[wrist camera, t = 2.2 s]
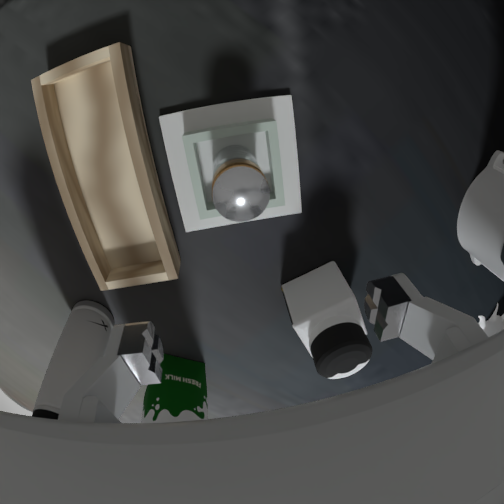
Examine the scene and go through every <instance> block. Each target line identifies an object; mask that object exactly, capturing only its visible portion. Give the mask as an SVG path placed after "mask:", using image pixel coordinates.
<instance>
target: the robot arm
mask: <svg viewBox="0 0 504 504" xmlns="http://www.w3.org/2000/svg"><path fill="white" fill-rule="evenodd" d="M457 234H458V239H459V242H460V244H461V245H462V247H463V248H464V249H465V250H467V251H468V252H469V253H470V256H471V260H472V262H473V263H474V264H476V265H480V264H483V265H484V266H485V267H486V268H488V269H489V270H490V271H491V272H493V273H494V274H495V275H496V276H498V277H499V278H500V279H501V280H502V281H504V152H502V151H499V150H497V151H495V153H494V154H493V155H492V157H491V159H490V161H489V163H488V165H487V167H486V168H485V169H484V170H483V171H482V172H481V173H480V174H479V175H478V176H477V177H476V178H475V179H474V181H473V182H472V184H471V185H470V187H469V188H468V190H467V192H466V194H465V196H464V198H463V201H462V204H461V207H460V211H459V215H458V221H457ZM366 291H367V292H368V295H367V297H366V298H365V301H364V308H365V314H366V316H367V319H368V320H369V322H371V323H373V324H375V326H374V331H375V333H376V335H377V337H378V338H379V340H380V342H382V341H385V340H389V339H393V338H396V337H399V338H401V339H402V340H404V341H405V342H407V343H408V344H410V345H411V346H413V347H414V348H416V349H417V350H419V351H420V352H422V353H423V354H425V355H426V356H427V357H429V358H430V359H432V360H433V361H432V363H431V364H430V365H427V366H425V367H422V368H420V369H417V370H415V371H412V372H409V373H407V374H404V375H401V376H398V377H395V378H393V379H390V380H387V381H384V382H381V383H378V384H375V385H372V386H368V387H365V388H362V389H359V390H355V391H352V392H348V393H345V394H341V395H337V396H334V397H330V398H326V399H322V400H318V401H314V402H309V403H305V404H301V405H296V406H291V407H286V408H281V409H276V410H270V411H265V412H259V413H253V414H246V415H239V416H232V417H224V418H215V419H206V420H195V421H182V422H165V423H121V422H120V421H119V418H120V417H121V415H122V414H123V412H124V411H125V409H126V408H127V406H128V405H129V403H130V402H131V400H132V399H133V397H134V396H135V394H136V393H137V391H138V390H139V388H140V387H141V386H140V385H148V384H158V383H161V378H162V368H161V366H160V363H161V362H162V361H163V357H164V352H163V345H162V342H161V339H160V337H159V336H158V335H156V334H154V333H155V327H154V325H153V323H152V322H150V321H146V322H137V323H127V324H119V325H114V326H113V328H112V331H111V334H110V338H109V341H108V345H107V348H106V352H105V356H104V357H100V358H99V359H98V360H97V361H96V362H95V363H94V364H93V366H92V367H91V368H90V369H89V370H88V371H87V372H86V373H85V374H84V375H83V376H82V377H81V378H80V379H79V380H78V381H77V382H76V383H75V384H74V385H73V386H72V387H71V388H70V389H69V390H68V391H67V392H66V393H65V394H64V398H63V401H62V405H61V409H60V413H59V416H58V420H56V419H47V418H39V417H32V416H25V415H19V414H13V413H8V412H3V411H0V504H504V329H503V330H502V331H500V332H498V333H496V334H494V335H492V336H490V337H488V336H487V334H486V333H485V332H484V330H483V329H482V328H481V327H480V325H479V324H478V323H477V322H476V320H475V319H474V318H473V317H471V316H469V315H466V314H464V313H462V312H460V311H458V310H455V309H453V308H451V307H449V306H446V305H444V304H442V303H440V302H437V301H435V300H433V299H431V298H428V297H424V298H423V296H422V295H421V294H420V292H419V291H418V290H417V289H416V288H415V286H414V285H413V284H412V283H411V281H410V280H409V279H408V278H407V277H406V275H405V274H403V273H399V274H395V275H392V276H388V277H384V278H380V279H376V280H372V281H368V283H367V286H366Z"/></svg>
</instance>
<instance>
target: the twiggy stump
mask: <svg viewBox="0 0 504 504" xmlns="http://www.w3.org/2000/svg"><path fill="white" fill-rule="evenodd" d="M497 310H498V303H497V307H496V309H495V311H494V313H493V314H492V316H491V317H490V319H489V320H488V321H485V317H484V316H478V317H479V318H480V322H479V323H478V324H479V325H480V327H481V328H482V329H483V330H484V332H485V333H486V334H487V336H488V337H490V336H492V335H494V334H496V333H498V332H500V331H502V330H503V329H504V314H503V315H502V316H499V315H497Z"/></svg>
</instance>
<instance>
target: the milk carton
mask: <svg viewBox="0 0 504 504" xmlns="http://www.w3.org/2000/svg"><path fill="white" fill-rule="evenodd" d="M160 366H161V368H162V378H161V383H158V384H148V386H147V389H146V392H145V396H144V402H143V411H142V420H141V423H165V422H182V421H195V420H206V419H208V409H207V386H206V374H205V363H201V362H197V361H192V360H188V359H184V358H180V357H176V356H172V355H168V354H164V357H163V361H162V362H161V363H160Z"/></svg>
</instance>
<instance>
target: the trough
mask: <svg viewBox="0 0 504 504" xmlns="http://www.w3.org/2000/svg"><path fill="white" fill-rule="evenodd" d="M31 83H32V89H33V94H34V99H35V104H36V109H37V113H38V118H39V122H40V126H41V130H42V134H43V138H44V142H45V146H46V149H47V153H48V156H49V160H50V163H51V167H52V170H53V173H54V176H55V179H56V182H57V185H58V188H59V191H60V194H61V197H62V200H63V203H64V205H65V208H66V211H67V214H68V216H69V219H70V221H71V224H72V227H73V229H74V232H75V234H76V236H77V239H78V241H79V244H80V246H81V248H82V251H83V253H84V255H85V258H86V260H87V262H88V264H89V266H90V269H91V271H92V273H93V275H94V277H95V279H96V281H97V283H98V285H99V288H100V290H101V291H103V290H110V289H116V288H123V287H129V286H136V285H142V284H148V283H154V282H161V281H167V280H173V279H178V276H179V269H180V262H181V258H180V255H179V252H178V248H177V245H176V242H175V238H174V235H173V231H172V228H171V224H170V221H169V217H168V213H167V210H166V206H165V202H164V199H163V195H162V191H161V187H160V183H159V179H158V175H157V171H156V167H155V163H154V159H153V155H152V151H151V146H150V142H149V138H148V133H147V129H146V124H145V119H144V115H143V110H142V105H141V100H140V95H139V90H138V85H137V79H136V74H135V68H134V62H133V57H132V50H131V46H129V45H126V44H123V43H121V42H118V43H115V44H113V45H110V46H107V47H104V48H101V49H99V50H96V51H93V52H91V53H88V54H86V55H83V56H81V57H78V58H76V59H74V60H71V61H69V62H67V63H65V64H62V65H60V66H58V67H56V68H54V69H52V70H50V71H48V72H46V73H44V74H42V75H40V76H38V77H36V78H34V79H32V80H31Z"/></svg>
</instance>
